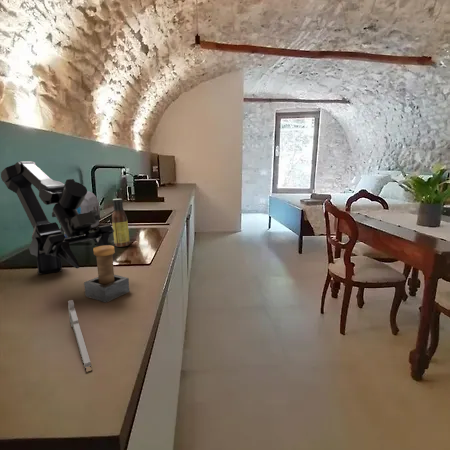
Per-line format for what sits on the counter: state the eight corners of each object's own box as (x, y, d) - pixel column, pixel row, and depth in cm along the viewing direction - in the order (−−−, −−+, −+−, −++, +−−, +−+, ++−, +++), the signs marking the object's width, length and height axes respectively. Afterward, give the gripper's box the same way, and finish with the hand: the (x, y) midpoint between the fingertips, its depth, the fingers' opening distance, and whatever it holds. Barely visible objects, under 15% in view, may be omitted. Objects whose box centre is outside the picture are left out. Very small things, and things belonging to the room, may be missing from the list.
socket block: (106, 302, 83) (104, 287, 82) (85, 296, 87) (84, 282, 86) (129, 291, 90) (128, 277, 89) (109, 286, 94) (108, 273, 93)
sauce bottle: (132, 244, 140) (129, 198, 136) (123, 248, 134) (120, 200, 130) (120, 243, 142) (116, 197, 138) (110, 246, 136) (106, 199, 132)
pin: (96, 298, 85) (91, 251, 83) (99, 291, 90) (95, 245, 88) (116, 296, 86) (112, 249, 84) (118, 289, 91) (115, 244, 89)
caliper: (69, 324, 73) (66, 298, 71) (75, 323, 73) (72, 297, 72) (86, 374, 56) (82, 341, 54) (93, 372, 56) (89, 339, 55)
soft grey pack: (91, 225, 181) (88, 189, 177) (105, 225, 180) (102, 189, 176) (75, 231, 167) (71, 192, 163) (90, 231, 166) (87, 192, 162)
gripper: (43, 205, 82) (70, 255, 78) (108, 198, 97) (133, 239, 93) (33, 231, 89) (57, 278, 84) (95, 220, 103) (118, 260, 99)
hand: (94, 263), depth 90 cm, fingers open, 9 cm apart
